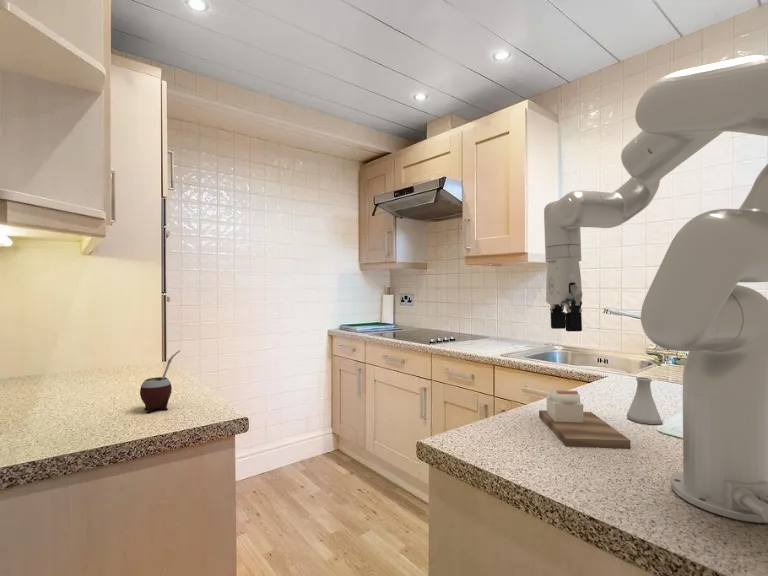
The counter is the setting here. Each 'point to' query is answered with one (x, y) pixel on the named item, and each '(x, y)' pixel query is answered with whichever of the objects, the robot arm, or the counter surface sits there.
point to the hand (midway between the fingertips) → (565, 329)
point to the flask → (644, 404)
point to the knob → (564, 406)
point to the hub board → (586, 432)
